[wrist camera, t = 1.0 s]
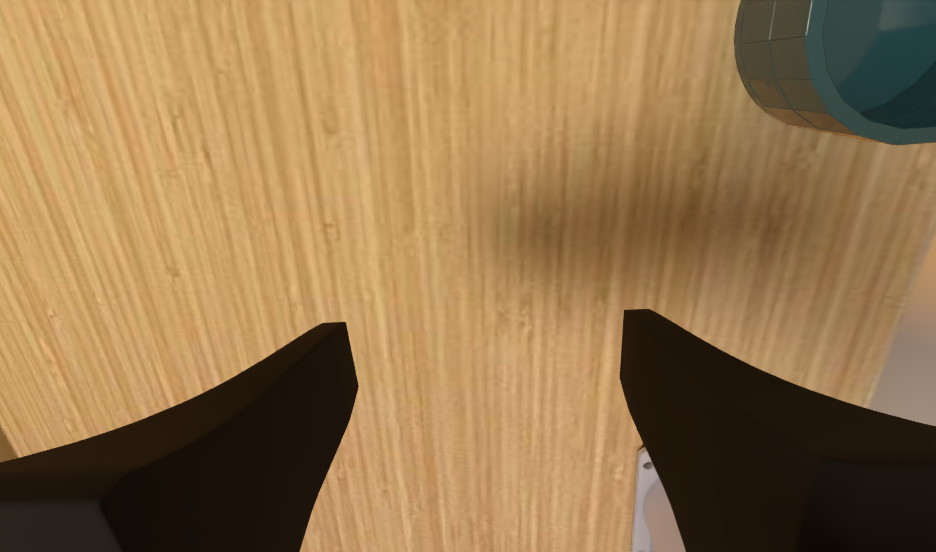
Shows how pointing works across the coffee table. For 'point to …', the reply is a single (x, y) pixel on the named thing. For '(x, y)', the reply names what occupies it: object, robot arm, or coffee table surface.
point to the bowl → (842, 65)
